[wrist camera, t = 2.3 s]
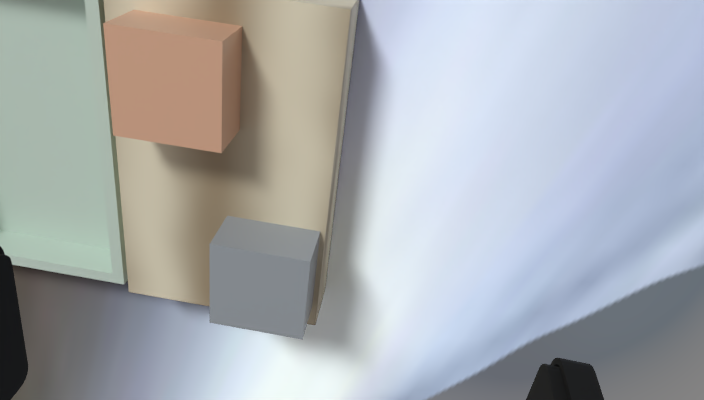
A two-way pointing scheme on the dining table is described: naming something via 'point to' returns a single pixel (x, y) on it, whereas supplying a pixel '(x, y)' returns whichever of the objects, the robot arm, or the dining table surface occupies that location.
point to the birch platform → (244, 145)
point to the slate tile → (263, 276)
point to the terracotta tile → (174, 79)
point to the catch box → (58, 141)
